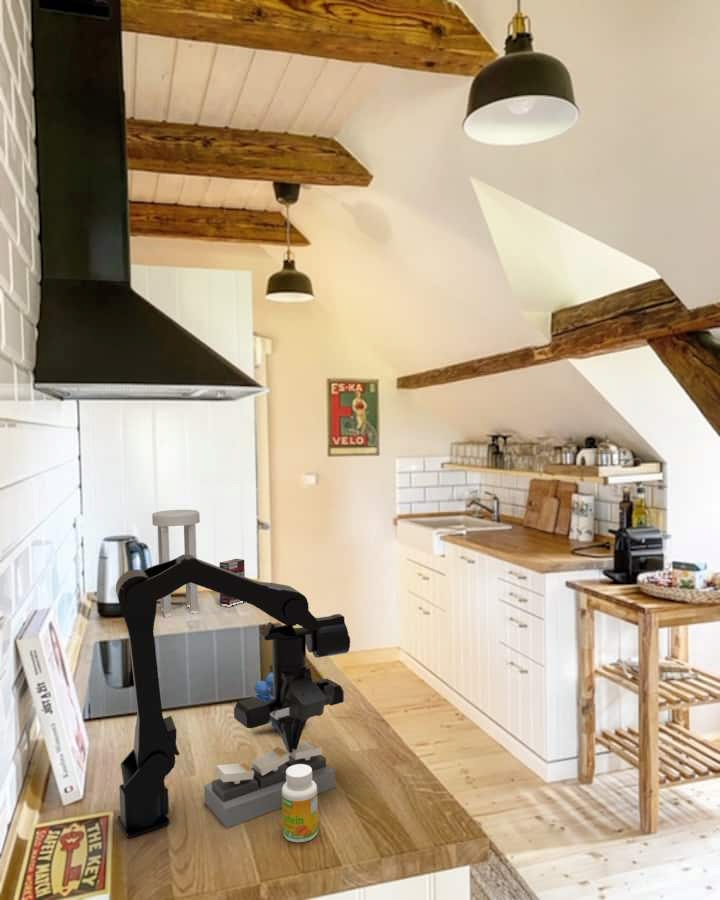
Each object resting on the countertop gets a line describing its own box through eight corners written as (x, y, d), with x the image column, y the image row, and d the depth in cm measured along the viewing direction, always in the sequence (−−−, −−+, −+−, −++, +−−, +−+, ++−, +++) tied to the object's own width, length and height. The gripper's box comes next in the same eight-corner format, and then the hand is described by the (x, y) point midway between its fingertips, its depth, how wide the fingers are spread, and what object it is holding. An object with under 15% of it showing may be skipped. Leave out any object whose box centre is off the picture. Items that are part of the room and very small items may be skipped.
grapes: (255, 743, 135) (254, 683, 134) (250, 729, 141) (248, 672, 141) (313, 733, 138) (311, 674, 138) (304, 720, 145) (303, 664, 144)
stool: (158, 619, 228) (155, 515, 227) (153, 609, 242) (150, 511, 242) (205, 614, 234) (202, 512, 233) (197, 604, 248) (194, 508, 248)
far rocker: (295, 763, 116) (296, 752, 116) (285, 755, 119) (286, 744, 119) (321, 757, 118) (322, 747, 119) (310, 750, 121) (311, 739, 122)
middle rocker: (262, 778, 112) (260, 768, 112) (253, 770, 115) (251, 760, 115) (290, 763, 115) (287, 753, 115) (280, 755, 118) (277, 745, 118)
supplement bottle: (276, 839, 102) (274, 775, 102) (292, 820, 107) (290, 759, 107) (309, 846, 100) (307, 781, 100) (324, 826, 105) (322, 764, 105)
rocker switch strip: (226, 828, 106) (225, 800, 106) (204, 803, 113) (203, 777, 113) (335, 787, 117) (334, 762, 117) (309, 767, 124) (308, 743, 124)
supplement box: (229, 608, 242) (228, 563, 241) (219, 606, 244) (218, 562, 244) (246, 602, 249) (245, 559, 249) (236, 601, 252) (235, 558, 251)
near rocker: (223, 785, 108) (224, 774, 108) (214, 776, 111) (216, 765, 111) (252, 782, 111) (254, 771, 111) (243, 773, 114) (244, 762, 114)
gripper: (261, 687, 105) (263, 787, 105) (360, 662, 116) (362, 753, 116) (231, 667, 114) (233, 760, 114) (326, 646, 125) (328, 730, 125)
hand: (291, 751), depth 117 cm, fingers closed, pressing on far rocker
